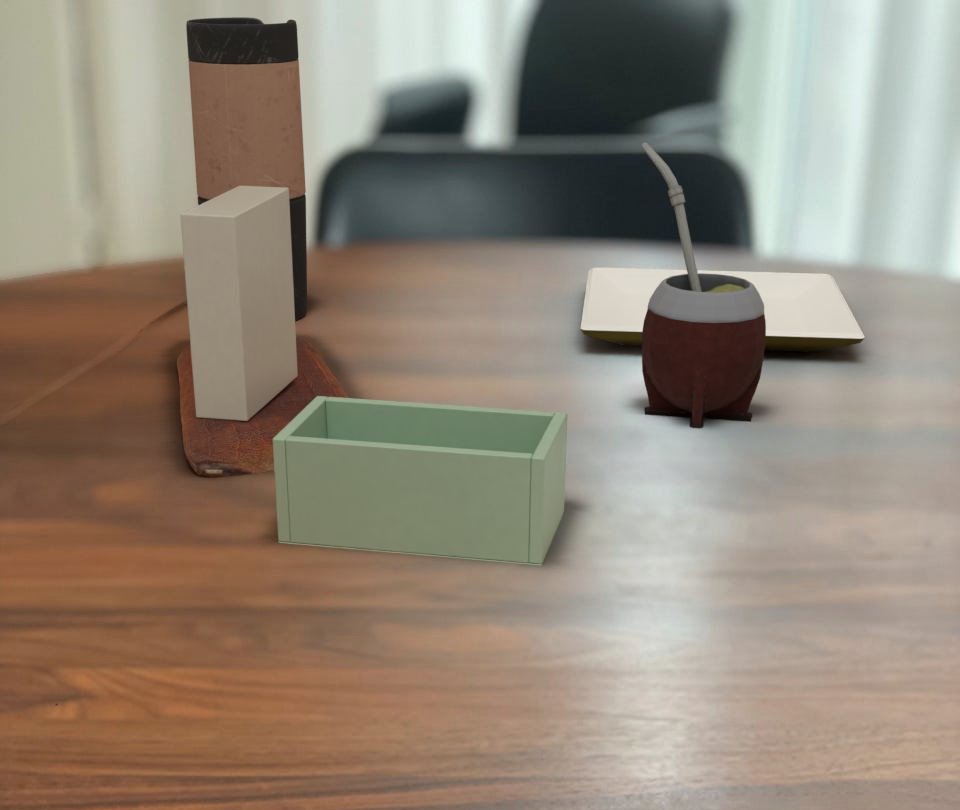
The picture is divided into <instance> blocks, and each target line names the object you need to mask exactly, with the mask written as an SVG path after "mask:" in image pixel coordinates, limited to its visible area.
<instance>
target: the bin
mask: <svg viewBox="0 0 960 810" xmlns="http://www.w3.org/2000/svg"><path fill="white" fill-rule="evenodd" d="M567 436H568V413H567V412H559V411H557V412H554V411H547V410H546V411H544V410H530V409H515V408H499V407H486V406H473V405H457V404H456V405H455V404H441V403H427V402H411V401H397V400H383V399H382V400H381V399H369V398H368V399H367V398H354V397H348V398H340V397H325V396H317V397H316V398H315V399H314V400H313V401H311V402H310V403H309V404H308V405H307V406H306V407H305V408H304V409H303V410H302V411H301V412H300V413H299V414H298V415H297V416H296V417H295V418H294V419H293V420H292V421H291V422H290V423H289V424H288V425H287V426H286V427H285V428H283V429H282V430H281V431H280V432H279V433H278V434H277V435H276V436H275V437H274V438H273V455H274V471H273V472H274V487H275V488H274V489H275V506H276V507H275V508H276V521H277V522H276V523H277V539H278V543H279V544H286V545H287V544H289V545H299V546H300V545H301V546H312V547H323V548H334V549H347V550H355V551H356V550H357V551H358V550H359V551H369V552H379V553H380V552H381V553H393V554H403V555H416V556H427V557H439V558H449V559H461V560H462V559H463V560H473V561H485V562H497V563H508V564H519V565H520V564H521V565H531V566H542V565H543V563H544V561H545V559H546V556H547V553H548V552H549V549H550V547H551V544H552V542H553V539H554V537H555V535H556V532H557V530H558V528H559V525H560V524H561V521H562V518H563V516H564V514H565V500H566V499H565V498H566V471H567V469H566V466H567V441H568V439H567Z"/></svg>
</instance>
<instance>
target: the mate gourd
mask: <svg viewBox="0 0 960 810" xmlns="http://www.w3.org/2000/svg"><path fill="white" fill-rule="evenodd" d="M641 148H642V149H643V151H644V152H645V153H646V155H647V156H648V158H649V159H650V160H651V161H652V163H653V164H654V165H655V167H656V168H657V170H658V171H659V172H660V174H661V175H662V177H663V179H664V181H665V182H666V184H667V187H668V190H667V194H668V197H669V200H670V204H671V207H673V209H674V213H675V218H676V223H677V228H678V234H679V238H680V243H681V248H682V254H683V258H684V263H685V264H684V265H685V268H686V270H687V273H688V274H682V275H676V276H671V277H669V278H666V279H664V280H663V281H662V282H661V283H660V284H659V286H658V287H657V288H656V290H655V291H654V293H653V294H652V296H651V298H650V300H649V303H648V310H647V313H646V316H645V319H644V324H643V331H642V346H641V367H642V368H641V371H642V377H643V381H644V386H645V390H646V395H647V399H648V406H645V407H644V408H643V411H644V412H643V413H644V415H645V416H658V417H659V416H661V417H672V418H673V417H674V418H687V419H689V428H691V429H703V428H704V423H705V420H718V421H731V422H733V421H734V422H748V423H751V422H752V418H753V414H754V413H752V412H749V409H750V406H751V403H752V401H753V398H754V396H755V393H756V390H757V388H758V386H759V383H760V379H761V375H762V369H763V364H764V355H765V350H764V349H765V343H766V321H765V315H764V303H763V301H762V299H761V297H760V294H759V293H758V291H757V289H756V288H755V286H754V285H753V284H752V283H751V282H749V281H747V280H746V279H742V278H738V277H735V276H728V275H721V274H704V273H697V270H698V269H697V265H696V260H695V255H694V250H693V245H692V239H691V234H690V229H689V225H688V219H687V214H686V213H687V212H686V208H685V203H686V198H685V194H684V190H683V187H682V185H679V183H678V180H677V178H676V176H675V175H674V173H673V172H672V169H671V168H670V167H669V165H668V164H667V163H666V162H665V161H664V159H663V158H662V157H661V156H660V155H659V154H658V153H657V152H656V151H655V149H653V147H652V146H651V145H650V144H649V143H648V142H645V141H644V142H643V143H641Z"/></svg>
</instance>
